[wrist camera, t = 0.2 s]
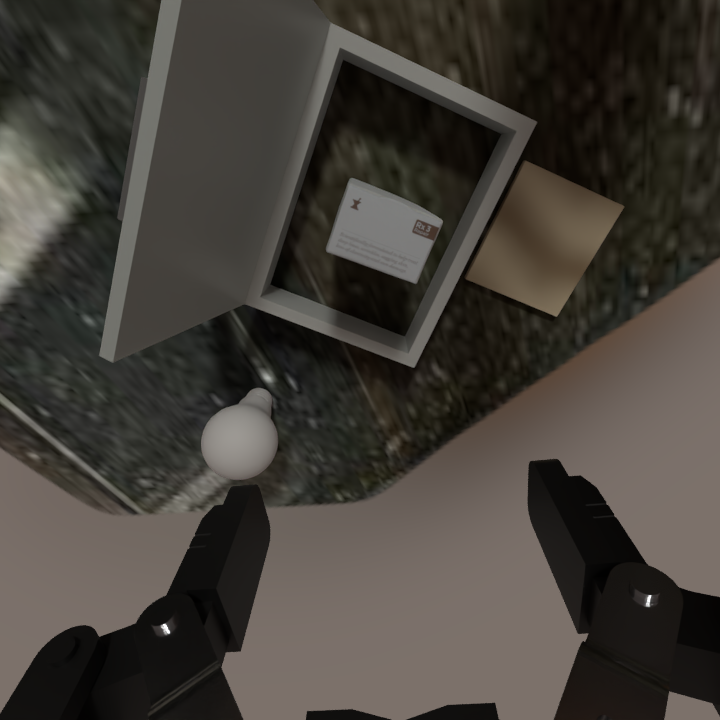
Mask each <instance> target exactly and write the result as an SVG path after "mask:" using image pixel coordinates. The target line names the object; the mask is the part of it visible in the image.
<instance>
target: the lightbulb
mask: <svg viewBox="0 0 720 720" xmlns="http://www.w3.org/2000/svg"><path fill="white" fill-rule="evenodd" d="M272 400H273V399H272V396H271V394H270V393H269V392H268V391H267V390H265V389H262V388H255V389H252V390H251V391H250V392H249V393H248V394H247V396H246V397H245V398H243V399H242V400H241V401H240V402H239V404H238V405H234V406H230V407H226V408H224V409H222V410H220V411H219V412H218V413H217V414H215V415H214V416H213V417H212V418H211V419H210V420H209V421H208V423H207V425H206V426H205V428H204V431H203V434H202V439H201V449H202V454H203V457H204V459H205V461H206V463H207V465H208V466H209V467H210V468H211V469H212V470H213V471H214V472H215V473H217V474H218V475H220V476H222V477H224V478H227V479H231V480H245V479H249V478H252V477H254V476H257V475H258V474H260V473H261V472H263V471H264V470H265V469H266V468H267V467H268V466H269V465H270V463H271V462H272V460H273V459H274V457H275V454H276V451H277V447H278V434H277V430H276V427H275V425H274V423H273V421H272V420H271V418H270V417H271V406H272Z"/></svg>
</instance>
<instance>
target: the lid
mask: <svg viewBox="0 0 720 720" xmlns="http://www.w3.org/2000/svg"><path fill="white" fill-rule="evenodd" d="M330 24H331V23H330V21H329V20H328V19H327V17H326V16H325V15H324V14H323V12H322V11H321V10H320V8H319V7H318V6H317V5H316V3H315V2H314V1H313V0H161V6H160V12H159V17H158V23H157V29H156V35H155V40H154V46H153V52H152V57H151V63H150V69H149V75H148V79H146V78H144V77H141V82H140V88H139V94H138V100H137V105H136V111H135V117H134V123H133V129H132V135H131V141H130V147H129V153H128V159H127V165H126V170H125V176H124V182H123V188H122V194H121V200H120V206H119V212H118V218H117V219H119V220H121V221H123V224H122V229H121V235H120V241H119V247H118V252H117V258H116V264H115V269H114V275H113V281H112V287H111V292H110V298H109V304H108V310H107V315H106V321H105V327H104V333H103V338H102V344H101V350H100V355H99V356H101V357H103V358H105V359H107V360H109V361H111V362H115V361H118V360H120V359H122V358H124V357H127V356H129V355H131V354H133V353H136V352H138V351H140V350H142V349H145V348H147V347H149V346H151V345H154V344H156V343H158V342H160V341H163V340H165V339H167V338H169V337H172V336H174V335H176V334H178V333H181V332H183V331H185V330H187V329H190V328H192V327H194V326H196V325H199V324H201V323H203V322H205V321H208V320H210V319H212V318H214V317H217V316H219V315H221V314H223V313H226V312H228V311H230V310H232V309H235V308H237V307H239V306H241V305H243V304H245V301H246V298H247V295H248V292H249V288H250V285H251V282H252V278H253V275H254V272H255V269H256V265H257V262H258V259H259V256H260V252H261V249H262V246H263V243H264V239H265V236H266V233H267V229H268V226H269V223H270V220H271V216H272V213H273V210H274V207H275V203H276V200H277V197H278V193H279V190H280V187H281V184H282V180H283V177H284V174H285V171H286V167H287V164H288V161H289V158H290V154H291V151H292V148H293V144H294V141H295V138H296V135H297V131H298V128H299V125H300V122H301V118H302V115H303V112H304V108H305V105H306V102H307V99H308V95H309V92H310V89H311V86H312V82H313V79H314V76H315V73H316V69H317V66H318V63H319V59H320V56H321V53H322V50H323V46H324V43H325V40H326V37H327V33H328V30H329V27H330Z"/></svg>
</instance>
